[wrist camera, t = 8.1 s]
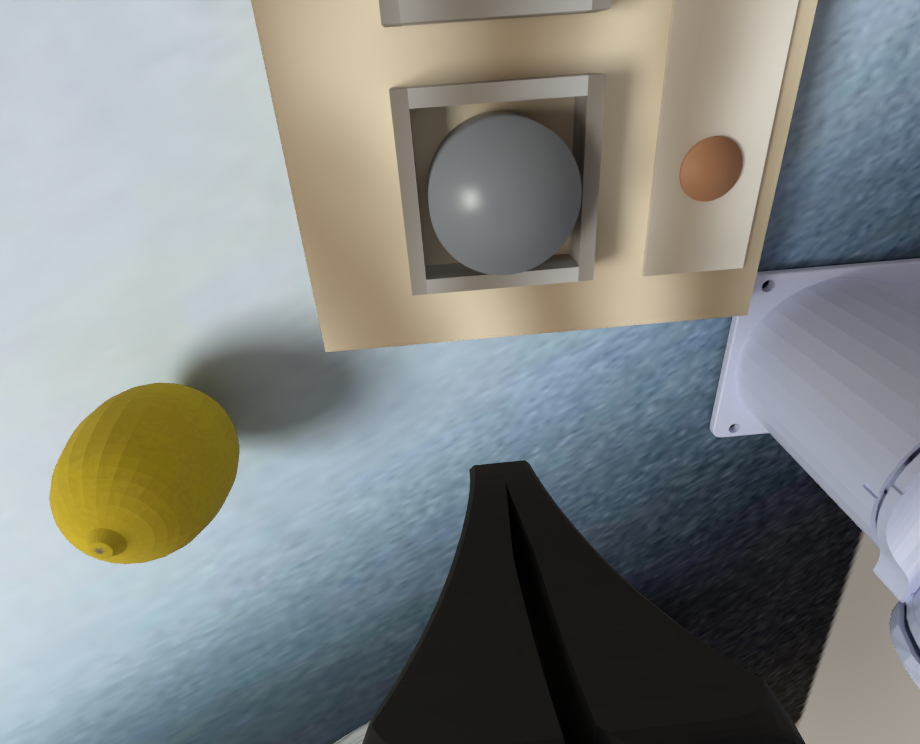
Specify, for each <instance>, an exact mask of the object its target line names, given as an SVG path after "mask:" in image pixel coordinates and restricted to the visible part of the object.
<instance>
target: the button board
mask: <svg viewBox="0 0 920 744" xmlns="http://www.w3.org/2000/svg"><path fill="white" fill-rule="evenodd" d="M817 2H818V0H251V3H252V7H253V12H254V17H255V21H256V26H257V31H258V36H259V40H260V45H261V50H262V54H263V59H264V64H265V69H266V73H267V78H268V83H269V87H270V92H271V97H272V102H273V106H274V111H275V116H276V120H277V125H278V130H279V135H280V139H281V144H282V149H283V153H284V158H285V163H286V168H287V172H288V177H289V182H290V186H291V191H292V196H293V201H294V205H295V210H296V215H297V219H298V224H299V229H300V234H301V238H302V243H303V248H304V252H305V257H306V262H307V267H308V271H309V276H310V281H311V285H312V290H313V295H314V300H315V304H316V309H317V314H318V318H319V323H320V328H321V333H322V337H323V342H324V347H325V351H326V352H334V351H346V350H357V349H369V348H380V347H391V346H403V345H414V344H425V343H437V342H448V341H460V340H471V339H482V338H494V337H505V336H516V335H528V334H539V333H551V332H562V331H573V330H585V329H596V328H607V327H619V326H630V325H642V324H653V323H664V322H676V321H687V320H699V319H710V318H721V317H733V316H744V315H748V311H749V306H750V302H751V297H752V293H753V288H754V284H755V280H756V275H757V271H758V266H759V262H760V257H761V253H762V248H763V244H764V239H765V235H766V230H767V226H768V221H769V217H770V212H771V208H772V204H773V199H774V195H775V190H776V186H777V181H778V177H779V172H780V168H781V163H782V159H783V154H784V150H785V145H786V141H787V136H788V132H789V128H790V123H791V119H792V114H793V110H794V105H795V101H796V96H797V92H798V87H799V83H800V78H801V74H802V69H803V65H804V60H805V56H806V52H807V47H808V43H809V38H810V34H811V29H812V25H813V20H814V16H815V11H816V7H817ZM492 111H507V112H514V113H517V114H520V115H523V116H525V117H528V118H530V119H532V120H534V121H536V122H538V123H540V124H542V125H544V126H545V127H547V128H548V129H550V130H551V131H553V132H554V133H555V134H556V135H557V136H559V137H560V138H561V139H562V140H563V142H564V143H565V144H566V145H567V146H568V148H569V150H570V151H571V153H572V154H573V156H574V159H575V161H576V163H577V166H578V169H579V173H580V177H581V184H582V198H581V206H580V211H579V215H578V218H577V221H576V223H575V226H574V228H573V230H572V232H571V234H570V235H569V237H568V238H567V240H566V241H565V243H564V244H563V245H562V246H561V247H560V249H559V250H558V251H557V252H556V253H555V254H553V255H552V256H551V257H550V258H549V259H547V260H546V261H545V262H543V263H542V264H540V265H538V266H536V267H534V268H532V269H530V270H527V271H524V272H521V273H517V274H511V275H491V274H485V273H481V272H478V271H475V270H473V269H470V268H468V267H467V266H465V265H463V264H461V263H460V262H459V261H457V260H456V259H455V258H454V257H453V256H452V255H451V254H449V253H448V251H447V250H446V249H445V248H444V246H443V245H442V244H441V242H440V240H439V239H438V237H437V235H436V233H435V230H434V228H433V225H432V221H431V218H430V211H429V203H428V187H427V183H428V173H429V169H430V165H431V162H432V159H433V157H434V154H435V152H436V150H437V148H438V147H439V145H440V144H441V142H442V141H443V139H444V138H445V137H446V136H447V135H448V134H449V133H450V131H452V130H453V129H454V128H455V127H456V126H457V125H459V124H460V123H462V122H463V121H465V120H467V119H469V118H471V117H473V116H475V115H478V114H482V113H485V112H492Z"/></svg>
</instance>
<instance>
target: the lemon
mask: <svg viewBox="0 0 920 744" xmlns="http://www.w3.org/2000/svg"><path fill="white" fill-rule="evenodd" d="M238 460H239V443H238V438H237V433H236V429H235V427H234V425H233V423H232V421H231V419H230V417H229V415H228V414H227V412H226V411H225V410H224V409H223V408H222V407H221V406H220V405H219V403H218V402H216V401H215V400H214V399H212V398H211V397H210V396H208V395H207V394H205V393H203V392H201V391H199V390H196V389H194V388H192V387H188V386H184V385H179V384H174V383H154V384H148V385H142V386H138V387H134V388H131V389H129V390H127V391H125V392H122V393H120V394H118V395H116V396H114V397H112V398H110V399H109V400H107V401H106V402H104V403H103V404H102V405H100V406H99V407H98V408H97V409H96V410H95V411H93V412H92V413H91V414H90V415H89V416H88V417H86V418H85V419H84V420H83V421H82V422H81V423H80V424H79V426H78V427H77V428H76V430H75V431H74V432H73V434H72V435H71V437H70V438H69V440H68V442H67V444H66V446H65V448H64V450H63V452H62V454H61V456H60V457H59V459H58V462H57V464H56V466H55V469H54V472H53V475H52V481H51V490H50V506H51V510H52V513H53V517H54V520H55V522H56V524H57V526H58V528H59V529H60V531H61V532H62V534H63V535H64V536H65V538H66V539H67V540H68V541H69V542H70V543H71V544H72V545H73V546H75V547H76V548H77V549H79V550H80V551H82V552H83V553H85V554H87V555H89V556H91V557H94V558H96V559H99V560H103V561H107V562H111V563H120V564H130V563H142V562H147V561H151V560H155V559H158V558H162V557H165V556H167V555H169V554H171V553H173V552H175V551H176V550H178V549H180V548H182V547H184V546H186V545H187V544H188V543H189V542H191V541H192V540H193V539H194V538H195V537H196V536H197V535H198V534H199V533H200V532H201V531H202V530H203V529H204V528H205V527H206V526H207V525H208V524H209V523H210V522H211V521H212V520H213V518H214V517H215V516H216V514H217V513H218V512H219V510H220V509H221V507H222V506H223V504H224V502H225V500H226V498H227V496H228V494H229V492H230V490H231V488H232V486H233V483H234V481H235V478H236V474H237V468H238Z"/></svg>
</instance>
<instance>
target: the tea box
mask: <svg viewBox="0 0 920 744" xmlns="http://www.w3.org/2000/svg"><path fill="white" fill-rule="evenodd" d="M369 723H370V721H369V722H367V723H366V724H364V725H362V726H361V727H359V728H358V729H356V730H354V731H353V732H351V733H350V734H348V735H346V736H345V737H343V738H341V739H340V740H338V741H337V742H335V743H334V744H362V743H363V740H364V737H365V734H366V731H367V728H368V725H369Z"/></svg>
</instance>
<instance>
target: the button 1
mask: <svg viewBox="0 0 920 744" xmlns="http://www.w3.org/2000/svg"><path fill="white" fill-rule="evenodd" d="M427 187H428V203H429V211H430V218H431V221H432V225H433V228H434V230H435V233H436V235H437V237H438V239H439V240H440V242H441V244H442V245H443V246H444V248H445V249H446V250H447V251H448V253H449V254H451V255H452V256H453V257H454V258H455V259H456V260H457V261H459V262H460V263H461V264H463V265H465V266H467V267H468V268H470V269H473V270H475V271H478V272H481V273H485V274H491V275H511V274H517V273H521V272H524V271H527V270H530V269H532V268H534V267H536V266H538V265H540V264H542V263H543V262H545V261H546V260H547V259H549V258H550V257H551V256H552V255H553V254H555V253H556V252H557V251H558V250H559V249H560V247H561V246H562V245H563V244H564V243H565V241H566V240H567V238H568V237H569V235H570V234H571V232H572V230H573V228H574V226H575V223H576V221H577V218H578V215H579V211H580V206H581V198H582V184H581V177H580V173H579V169H578V166H577V163H576V161H575V159H574V156H573V154H572V153H571V151H570V150H569V148H568V146H567V145H566V144H565V143H564V142H563V140H562V139H561V138H560V137H559V136H557V135H556V134H555V133H554V132H553V131H551V130H550V129H548V128H547V127H545V126H544V125H542V124H540V123H538V122H536V121H534V120H532V119H530V118H528V117H525V116H523V115H520V114H517V113H514V112H507V111H492V112H485V113H482V114H478V115H475V116H473V117H471V118H469V119H467V120H465V121H463V122H462V123H460V124H459V125H457V126H456V127H455V128H454V129H453V130H452V131H450V133H449V134H448V135H447V136H446V137H445V138H444V139H443V141H442V142H441V144H440V145H439V147H438V148H437V150H436V152H435V154H434V157H433V159H432V162H431V165H430V169H429V173H428V183H427Z"/></svg>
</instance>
